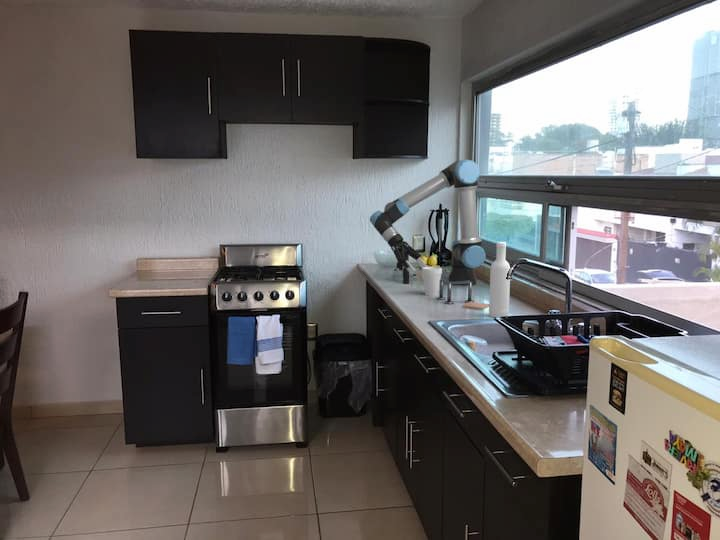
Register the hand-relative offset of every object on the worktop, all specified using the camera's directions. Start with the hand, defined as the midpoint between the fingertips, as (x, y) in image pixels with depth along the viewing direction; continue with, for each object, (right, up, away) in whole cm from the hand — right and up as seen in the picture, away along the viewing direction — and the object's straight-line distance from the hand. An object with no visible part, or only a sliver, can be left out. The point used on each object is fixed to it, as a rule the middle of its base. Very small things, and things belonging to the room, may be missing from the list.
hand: (419, 270), depth 281 cm
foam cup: (+6, -12, -1) cm, 13 cm away
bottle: (+27, -18, -45) cm, 56 cm away
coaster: (+21, -16, -28) cm, 39 cm away
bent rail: (+13, -14, -17) cm, 26 cm away
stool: (-5, -5, +41) cm, 42 cm away
